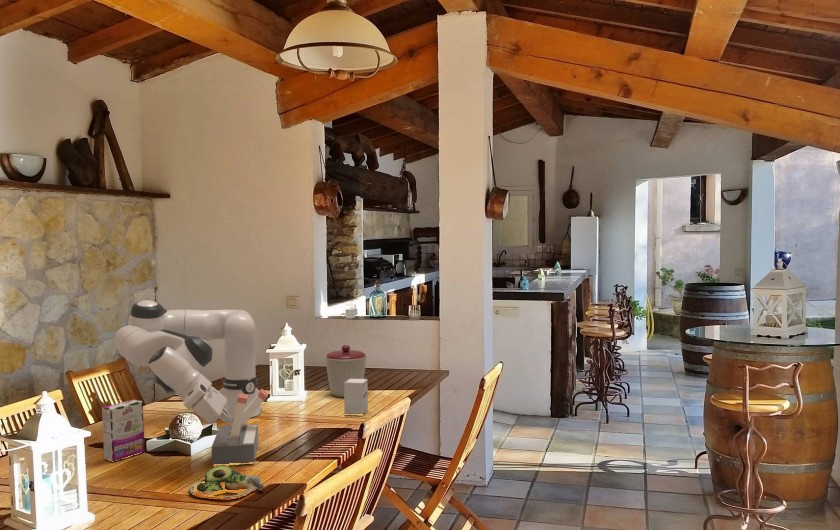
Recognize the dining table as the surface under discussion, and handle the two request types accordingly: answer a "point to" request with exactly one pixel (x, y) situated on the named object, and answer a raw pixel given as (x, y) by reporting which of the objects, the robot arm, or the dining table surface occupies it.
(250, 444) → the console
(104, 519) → the dining table surface
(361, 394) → the supplement box
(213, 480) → the salad plate
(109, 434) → the candy bar box
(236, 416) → the lever
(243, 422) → the lever
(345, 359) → the canister
